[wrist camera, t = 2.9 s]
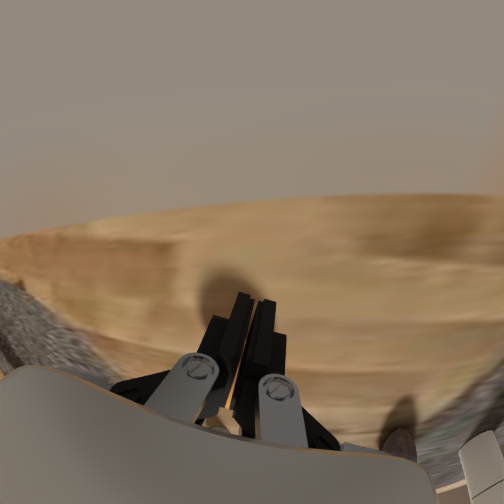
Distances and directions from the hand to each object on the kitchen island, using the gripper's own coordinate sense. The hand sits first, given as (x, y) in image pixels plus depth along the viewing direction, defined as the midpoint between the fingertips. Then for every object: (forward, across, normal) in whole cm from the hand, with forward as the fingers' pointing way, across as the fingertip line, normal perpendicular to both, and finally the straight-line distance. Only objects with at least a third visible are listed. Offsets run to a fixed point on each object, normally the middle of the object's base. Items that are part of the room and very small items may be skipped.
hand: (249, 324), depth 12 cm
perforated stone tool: (+8, -24, +21) cm, 33 cm away
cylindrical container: (+8, -44, +22) cm, 50 cm away
